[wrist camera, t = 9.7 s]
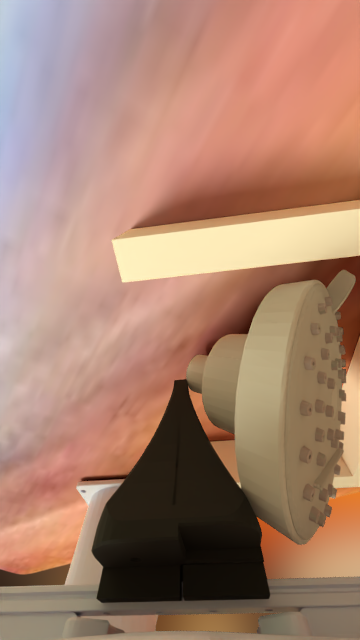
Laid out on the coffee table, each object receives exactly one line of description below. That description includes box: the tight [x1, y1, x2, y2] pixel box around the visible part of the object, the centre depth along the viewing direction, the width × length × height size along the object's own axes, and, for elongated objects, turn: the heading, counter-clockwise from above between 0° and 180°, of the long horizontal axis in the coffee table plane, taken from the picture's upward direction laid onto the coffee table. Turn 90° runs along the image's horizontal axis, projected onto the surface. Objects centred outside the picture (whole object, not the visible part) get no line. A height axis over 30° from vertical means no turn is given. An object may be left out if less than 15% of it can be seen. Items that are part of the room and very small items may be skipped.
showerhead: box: [186, 270, 356, 545], centre depth 11 cm, size 9×7×10 cm
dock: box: [112, 200, 360, 488], centre depth 13 cm, size 18×14×3 cm
